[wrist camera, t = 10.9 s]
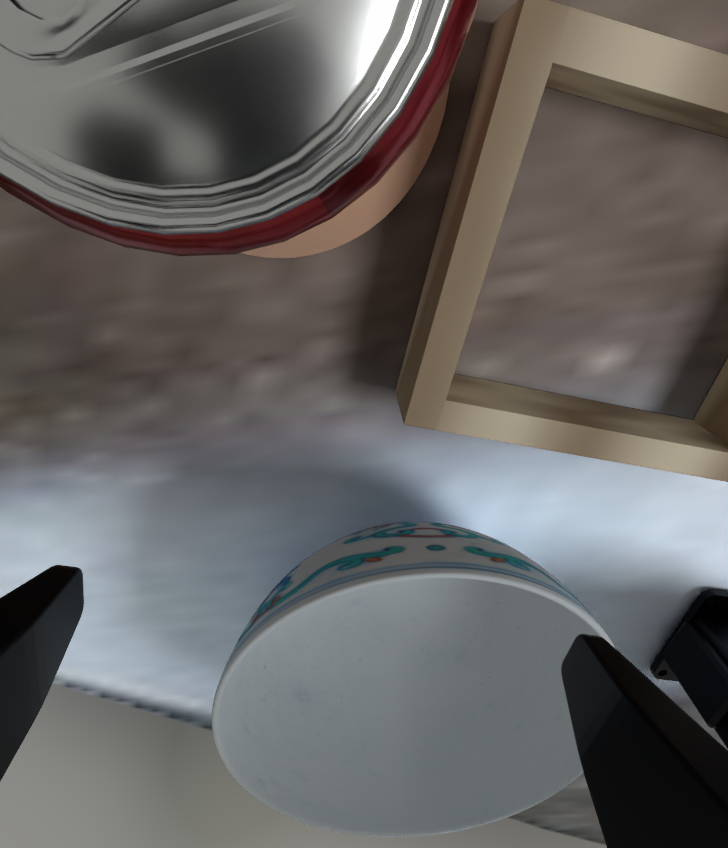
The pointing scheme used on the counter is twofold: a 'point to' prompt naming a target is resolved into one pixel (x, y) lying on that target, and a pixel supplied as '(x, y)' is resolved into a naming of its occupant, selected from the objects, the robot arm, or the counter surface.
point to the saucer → (366, 199)
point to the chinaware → (404, 685)
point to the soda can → (214, 111)
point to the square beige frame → (483, 214)
